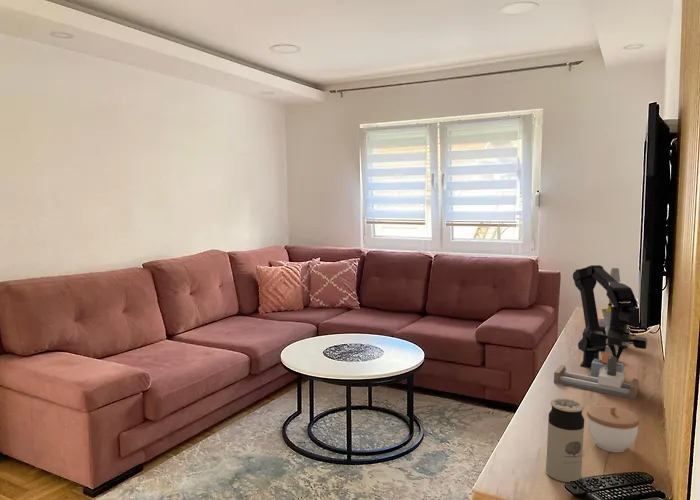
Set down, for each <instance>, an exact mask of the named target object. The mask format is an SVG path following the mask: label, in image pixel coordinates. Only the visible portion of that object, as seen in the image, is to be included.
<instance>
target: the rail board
mask: <svg viewBox="0 0 700 500" xmlns="http://www.w3.org/2000/svg"><path fill="white" fill-rule="evenodd" d="M553 373H554V374H553V383H554V384H557V383H558V385H562V384H563V385H562V386H568V387H573V388H578V389H583V390H587V391H592V392H593V391H594V392H598V393H601V394H607V395H612V396H618V397H622V398H626V399H632V400H635V399H636V396H637V393H638V391H639V384H640V379H639V378H633V379H632V382H631V383H627V382H623V384H622V386H621V388H617V387H612V386H607V385H601V384H598V378H596V377H591V375H586V374H582V373H581V374H580V373H576V372H575V373H574V372H570V371H566V365H564V364H561V365H559V367H558V368H556V370H555V371H554V372H553Z"/></svg>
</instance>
